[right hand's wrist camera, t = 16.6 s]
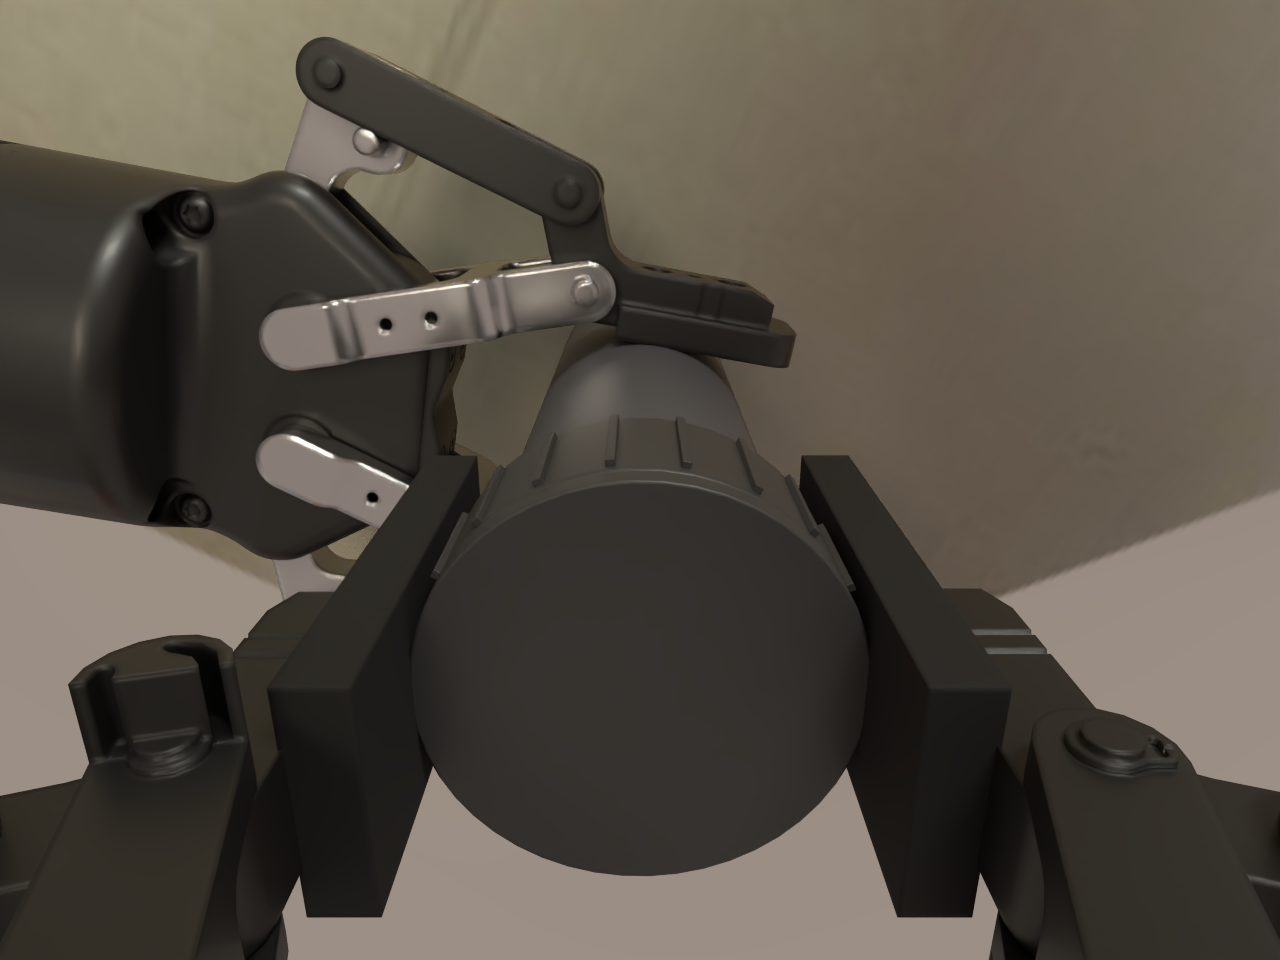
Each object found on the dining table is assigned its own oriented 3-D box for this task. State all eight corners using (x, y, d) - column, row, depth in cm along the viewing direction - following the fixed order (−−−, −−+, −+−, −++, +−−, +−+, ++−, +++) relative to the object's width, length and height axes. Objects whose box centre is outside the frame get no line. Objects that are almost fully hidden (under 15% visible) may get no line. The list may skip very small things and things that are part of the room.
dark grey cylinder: (532, 384, 26) (385, 692, 11) (624, 258, 24) (599, 412, 10) (654, 470, 27) (673, 862, 12) (748, 354, 25) (902, 629, 10)
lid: (898, 489, 12) (961, 569, 9) (745, 796, 13) (766, 927, 11) (512, 353, 11) (479, 404, 9) (404, 695, 13) (354, 810, 10)
